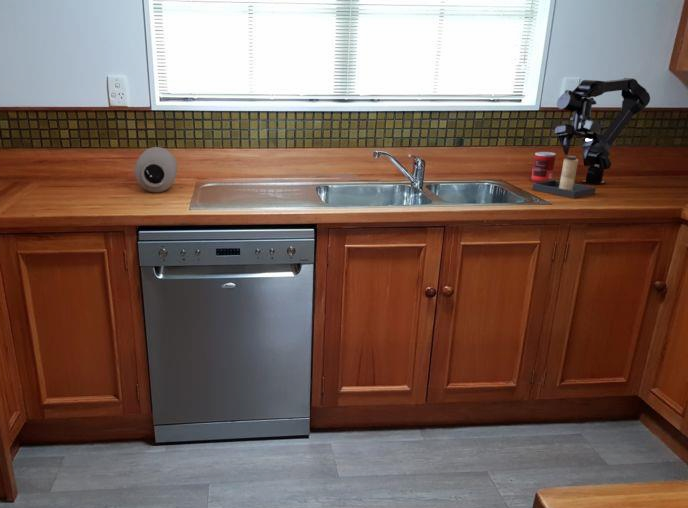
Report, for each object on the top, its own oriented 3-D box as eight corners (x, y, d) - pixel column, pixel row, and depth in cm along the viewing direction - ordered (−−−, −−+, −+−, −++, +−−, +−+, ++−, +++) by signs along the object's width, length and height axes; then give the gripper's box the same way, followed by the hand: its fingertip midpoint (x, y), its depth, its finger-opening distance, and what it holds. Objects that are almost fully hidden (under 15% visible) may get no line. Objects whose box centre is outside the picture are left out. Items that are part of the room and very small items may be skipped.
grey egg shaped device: (195, 172, 233) (180, 175, 209) (171, 201, 237) (154, 207, 212) (157, 138, 231) (138, 138, 207) (133, 168, 234) (112, 170, 210)
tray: (553, 185, 236) (554, 179, 235) (594, 193, 223) (596, 187, 222) (532, 189, 230) (533, 183, 229) (573, 198, 216) (575, 191, 215)
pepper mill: (563, 190, 227) (569, 155, 222) (574, 192, 223) (581, 156, 218) (555, 191, 224) (561, 156, 219) (567, 194, 221) (573, 158, 216)
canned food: (547, 179, 248) (552, 151, 244) (553, 183, 241) (558, 155, 237) (528, 178, 249) (532, 151, 245) (534, 182, 242) (538, 154, 238)
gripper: (580, 105, 216) (574, 149, 217) (618, 116, 223) (611, 158, 224) (556, 111, 226) (550, 153, 227) (593, 121, 233) (587, 162, 234)
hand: (575, 156), depth 228 cm, fingers open, 9 cm apart
